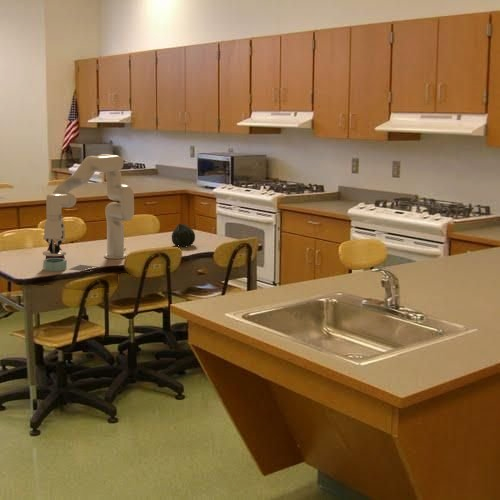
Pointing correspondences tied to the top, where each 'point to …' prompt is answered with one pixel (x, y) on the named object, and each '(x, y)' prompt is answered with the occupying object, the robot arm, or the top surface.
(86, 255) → the top surface
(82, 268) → the mat
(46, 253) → the lid
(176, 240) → the squash
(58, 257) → the vegetable
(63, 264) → the bowl
